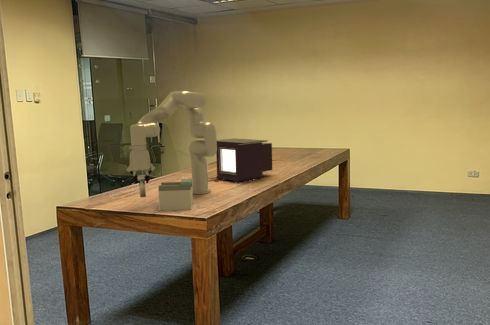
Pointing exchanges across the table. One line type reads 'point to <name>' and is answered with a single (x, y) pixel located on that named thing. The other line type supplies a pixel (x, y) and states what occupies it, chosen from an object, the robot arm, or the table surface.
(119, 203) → the table surface
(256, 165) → the crt monitor
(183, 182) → the keeper
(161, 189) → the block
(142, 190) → the pin
